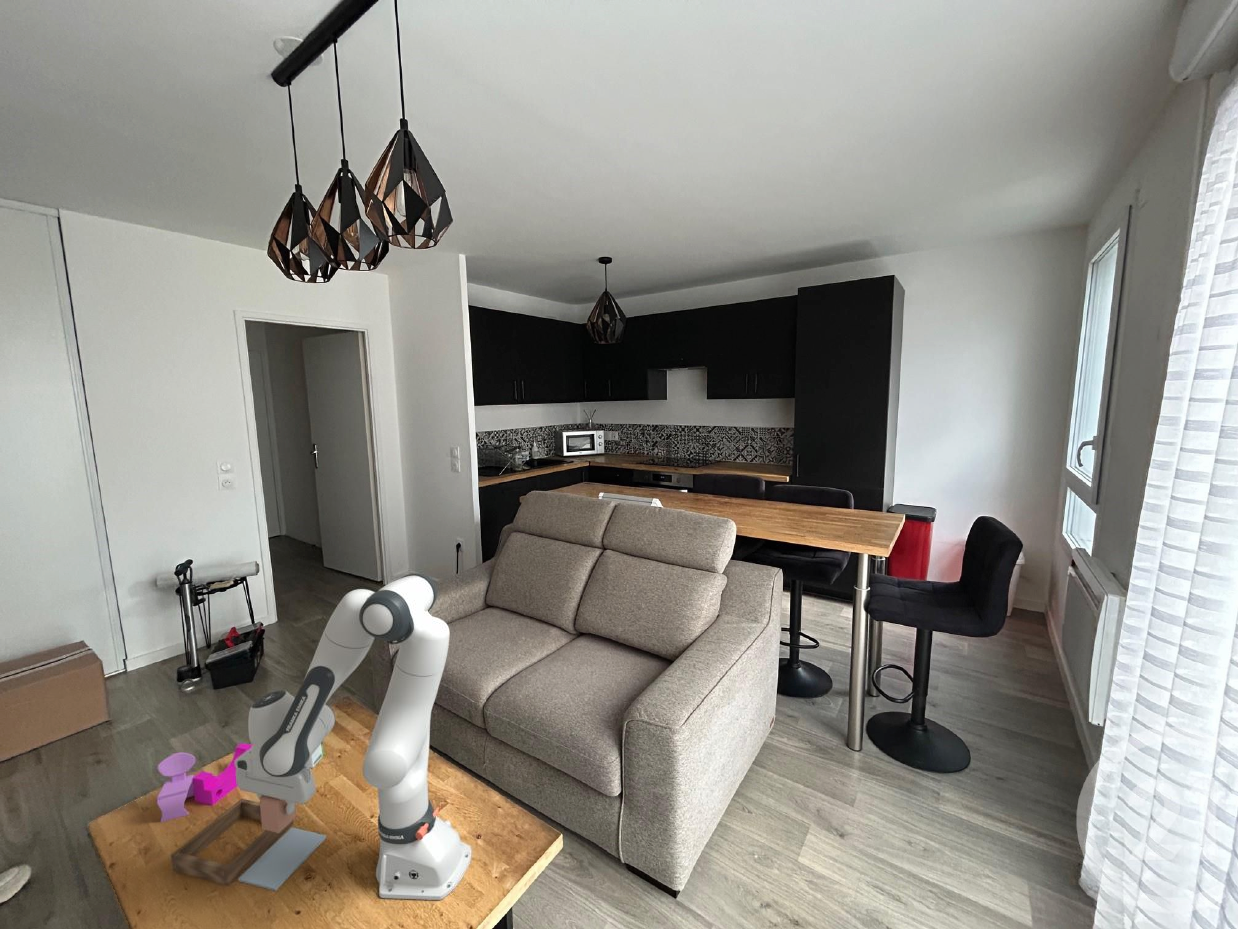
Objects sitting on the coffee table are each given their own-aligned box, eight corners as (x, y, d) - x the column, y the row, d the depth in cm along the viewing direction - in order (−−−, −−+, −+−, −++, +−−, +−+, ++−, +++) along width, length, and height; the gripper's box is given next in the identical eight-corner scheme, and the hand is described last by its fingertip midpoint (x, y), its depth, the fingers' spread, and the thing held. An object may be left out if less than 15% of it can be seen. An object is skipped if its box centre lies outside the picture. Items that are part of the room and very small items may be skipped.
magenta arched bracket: (212, 805, 144) (210, 781, 143) (195, 802, 145) (192, 778, 144) (260, 768, 158) (258, 746, 157) (244, 765, 159) (241, 743, 159)
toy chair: (154, 825, 137) (147, 775, 135) (167, 802, 145) (160, 754, 143) (193, 814, 140) (186, 765, 138) (203, 792, 148) (197, 745, 146)
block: (296, 816, 127) (294, 787, 126) (278, 833, 122) (276, 803, 121) (280, 813, 128) (277, 784, 127) (262, 829, 124) (259, 799, 123)
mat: (326, 838, 133) (326, 835, 133) (275, 892, 118) (275, 889, 118) (291, 830, 135) (291, 827, 135) (238, 881, 121) (237, 878, 121)
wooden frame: (293, 824, 137) (292, 809, 136) (228, 886, 120) (226, 869, 119) (243, 813, 141) (241, 798, 140) (173, 871, 123) (171, 855, 123)
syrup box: (313, 768, 158) (309, 725, 156) (294, 768, 158) (290, 725, 156) (324, 755, 164) (320, 714, 162) (306, 755, 164) (302, 714, 162)
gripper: (320, 756, 124) (323, 808, 126) (252, 743, 129) (257, 792, 130) (298, 775, 118) (302, 828, 120) (228, 760, 122) (233, 811, 124)
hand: (278, 809), depth 125 cm, fingers closed on block, 5 cm apart
